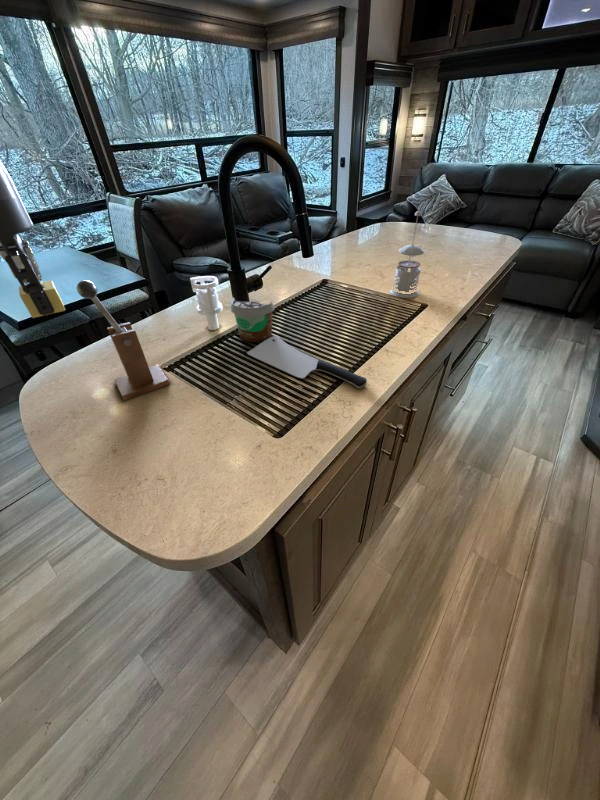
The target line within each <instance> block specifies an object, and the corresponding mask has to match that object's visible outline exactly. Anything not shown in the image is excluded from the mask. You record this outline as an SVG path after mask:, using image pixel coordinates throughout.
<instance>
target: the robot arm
mask: <svg viewBox="0 0 600 800" xmlns="http://www.w3.org/2000/svg"><path fill="white" fill-rule="evenodd" d="M33 228H34V223H33V221H32V219H31V217H30V215H29V213H28V211H27V209H26V206H25V205H24V203H23V201H22V198H21V196H20V195H19V192H18V190H17V188H16V186H15V184H14V182H13V179H12V177H11V175H10V174H9V173H8V171H7V169H6V167H5V166H4V164H3V162H2V160H0V256H1V258H2V260H4V261H5V263H6V264H7V266H8V267H9V269H10V272H11V273H12V276H13V277H14V278H15V279H17V282H18V283H19V284H20V285H19V286H22V289H23V291H24V292H25V293H26V294H29V295H30V297H31V299H32V301H33V303H34V304H35V306H36V308H37V310H38V312H39V313H40V314H41V315H44V316H48V315H52V314H51V313H53V314H55V313H54V308H53V306H52V304H51V302H50V300H49V298H48V296H47V294H46V292H45V287H44V285H42V283H41V282H43V281H42V280H43V277H42V275H41V271H40V267H39V264H38V262H37V260H36V258H35V256H34V253H33V249H32V247H31V246H30V243H29V241H26V240H25V239H24V238H23V237H22V236H21V237H20V235H19V234H24V233H27V232H29V231H31V230H32V229H33ZM47 314H48V315H47Z"/></svg>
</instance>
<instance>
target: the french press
mask: <svg viewBox="0 0 600 800" xmlns="http://www.w3.org/2000/svg"><path fill="white" fill-rule="evenodd" d="M414 216H415V217H416V221H415V227H414V232H413V239H412V243H411V244H407V245H404V246H402V247H401V248H399V249H398V252H399V254H401V255H404V256H409V258H408V259H405V260H400V261H398V262H397V265H398V266H396V267H395V274H394V278H393V279H394V280H393V285H392V288H391V289H392V290H391V289H390V290H389V294H390V295H392V296H394V297H398V298H405V299H411V298H415V297H417V296H419V291H418V290H416V289H418V284H419V279H420V274H421V267H420V266H421V263H420V262H419V261H415V260H416V256H422V255H424V254H425V252H426V251H425V249H424V248H422V247H420V246H418V245H417V244H416V245H415V244H414V241H415V236H416V230H417V224H418V219H419V217H421V216H422V211H420V210H416V212H415V213H414ZM411 258H413V260H411ZM395 284H396V285H398V287H396V286H395ZM412 284H413V285H412ZM393 286H394V287H395V288H396V289H398V290H399V291H405V292H409V290H414V289H415V288H416V287H417V288H416V289H415V290H416V292H414V293H411V294H402V293H398V292H395V291H394V290H393ZM410 286H411V287H413V286H416V287H414V288H410Z"/></svg>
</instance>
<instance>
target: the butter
mask: <svg viewBox="0 0 600 800" xmlns="http://www.w3.org/2000/svg"><path fill="white" fill-rule="evenodd" d="M41 283H42V285H44V287H45V292H46V294H47V296H48V298H49V300H50V302H51V304H52V306H53V308H54V313H51V314H50V315H52V314H56V313H61V312H65V311H66V308H65V305H64V301H63V300H62V298H61V295H60V293H59V292H58V290H57V288H56V286H55V284H54V282H53V280H46V281H42V282H41ZM18 293H19V298H20V299H21V301H22V303H23V304H24V306H25V308H26V309H27V312H28V313H29V315H30V316H31V318H32V319H35V318H39V317H43V316H45V315H41V314H40V313H39V312H38V310H37V308H36V306H35V304H34V303H33V301H32V299H31V297H30V295H29V294H26V293H25V292H24V291H23V289H22V286H21V285H19V286H18ZM48 315H49V314H47V315H46V316H48Z"/></svg>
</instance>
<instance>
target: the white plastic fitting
mask: <svg viewBox="0 0 600 800" xmlns="http://www.w3.org/2000/svg"><path fill="white" fill-rule="evenodd" d="M189 280H190V281H189V282H190V284H191V290H192V292H193V293H195V294H196V298H197V303H198V305H196V310H197V311H196V312H197V313H198V314H199V315H201V316H205V319H206V323H207V328H208V330H210V331H216V330H218V329H219V328H220V326H219V325H220V324H219V320H218V315H217V314H219V313H222V312H223V310H224V308H223V304H222V302H220V300H219V295H218V289H217V288H216V287H218V285H219V279H218V277H217V276H213V275H204V276H199V275H198V276H195V277H190V278H189ZM208 281H209V282H210V283H208ZM205 282H207V283H205ZM198 283H199V284H198Z"/></svg>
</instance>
